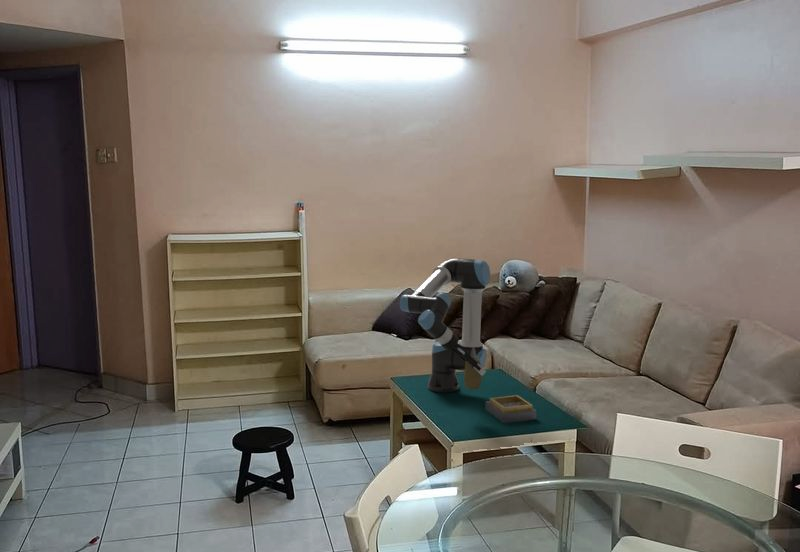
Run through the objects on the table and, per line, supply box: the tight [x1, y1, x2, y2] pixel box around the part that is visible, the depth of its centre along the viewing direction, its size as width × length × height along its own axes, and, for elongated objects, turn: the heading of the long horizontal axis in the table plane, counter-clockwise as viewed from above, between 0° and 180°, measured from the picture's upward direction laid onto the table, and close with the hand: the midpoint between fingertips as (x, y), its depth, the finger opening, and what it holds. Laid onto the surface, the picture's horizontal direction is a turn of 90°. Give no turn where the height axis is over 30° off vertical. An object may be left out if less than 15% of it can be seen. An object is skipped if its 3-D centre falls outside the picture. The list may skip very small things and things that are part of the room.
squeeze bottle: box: [463, 348, 483, 390], centre depth 344 cm, size 8×8×18 cm
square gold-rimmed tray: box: [484, 394, 538, 424], centre depth 349 cm, size 18×16×6 cm
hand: (480, 371), depth 345 cm, fingers closed on squeeze bottle, 6 cm apart
